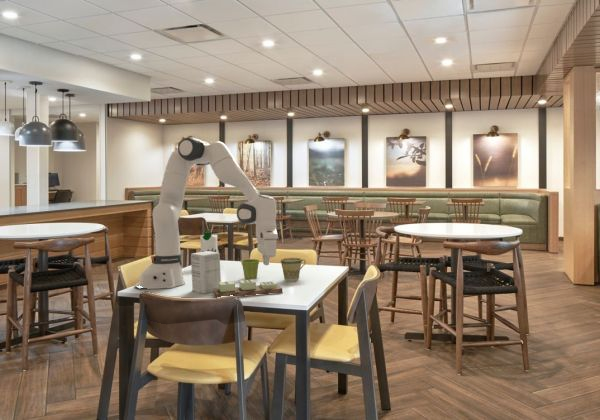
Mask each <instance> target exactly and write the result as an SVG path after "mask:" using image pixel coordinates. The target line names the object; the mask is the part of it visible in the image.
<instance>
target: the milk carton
mask: <svg viewBox="0 0 600 420" xmlns="http://www.w3.org/2000/svg"><path fill="white" fill-rule="evenodd" d="M199 238H200V252H204V251H211V252H218V253H219V251H218V249H219V248H218V234H212V231H204V232H203V234H202V235H200V237H199Z"/></svg>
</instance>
